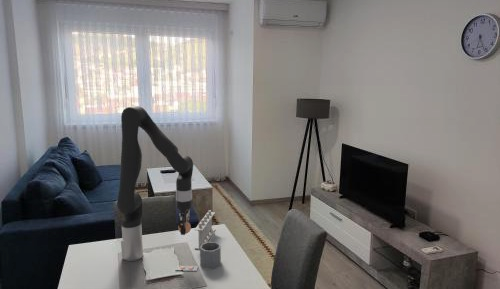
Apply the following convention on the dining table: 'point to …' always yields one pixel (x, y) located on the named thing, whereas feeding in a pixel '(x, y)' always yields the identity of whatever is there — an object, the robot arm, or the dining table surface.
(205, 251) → the tube
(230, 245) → the dining table surface
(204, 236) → the test tube rack
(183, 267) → the card
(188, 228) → the ball
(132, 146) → the robot arm
